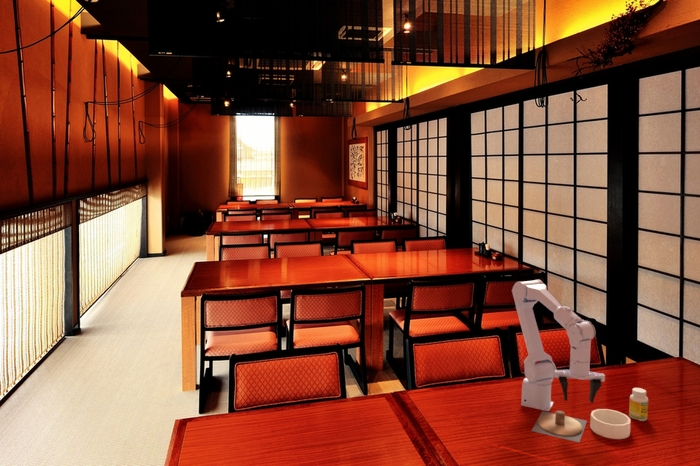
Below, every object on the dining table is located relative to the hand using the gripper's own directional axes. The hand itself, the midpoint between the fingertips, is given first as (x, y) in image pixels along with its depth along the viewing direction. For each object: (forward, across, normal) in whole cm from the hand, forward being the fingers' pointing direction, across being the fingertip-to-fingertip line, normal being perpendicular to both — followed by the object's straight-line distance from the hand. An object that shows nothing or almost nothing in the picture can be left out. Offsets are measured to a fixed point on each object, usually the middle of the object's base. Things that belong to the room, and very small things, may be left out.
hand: (578, 400), depth 166 cm
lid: (+8, -6, -2) cm, 10 cm away
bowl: (+9, +9, -1) cm, 13 cm away
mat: (+9, -6, -2) cm, 11 cm away
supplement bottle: (+9, +21, +11) cm, 25 cm away
